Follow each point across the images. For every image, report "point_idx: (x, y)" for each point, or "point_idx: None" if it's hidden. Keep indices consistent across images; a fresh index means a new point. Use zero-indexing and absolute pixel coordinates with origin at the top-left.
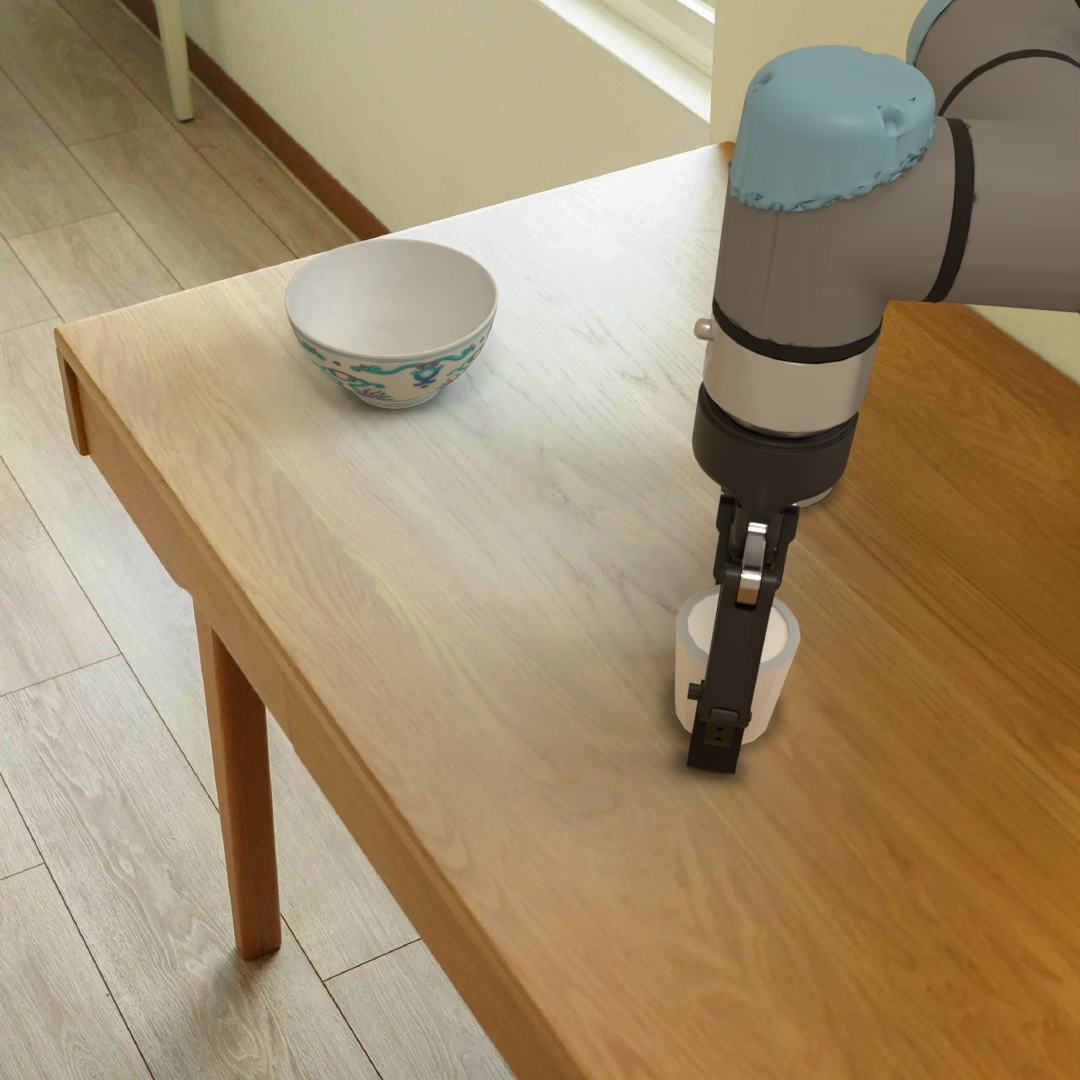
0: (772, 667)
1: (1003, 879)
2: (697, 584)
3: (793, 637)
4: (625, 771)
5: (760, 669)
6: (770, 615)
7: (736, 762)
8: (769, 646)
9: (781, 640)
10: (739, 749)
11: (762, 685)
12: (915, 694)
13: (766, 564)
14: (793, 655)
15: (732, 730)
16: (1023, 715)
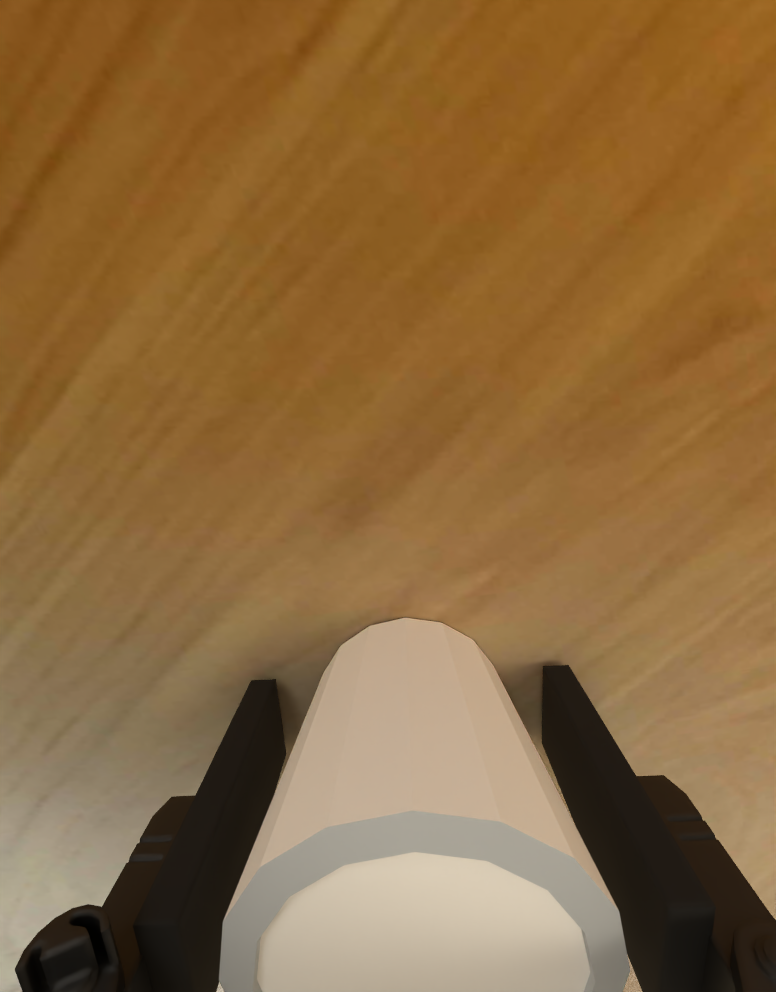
0: (577, 878)
1: (738, 82)
2: (117, 778)
3: (417, 835)
4: None
5: (592, 906)
6: (332, 904)
7: (583, 690)
8: (475, 889)
9: (438, 863)
10: (601, 719)
11: (565, 820)
12: (244, 332)
13: (92, 938)
14: (502, 825)
15: (724, 851)
16: (214, 38)
